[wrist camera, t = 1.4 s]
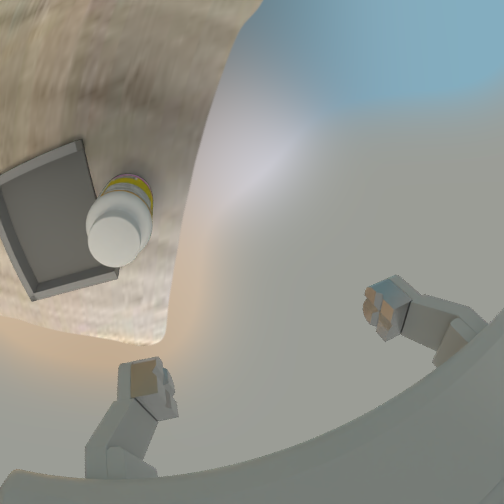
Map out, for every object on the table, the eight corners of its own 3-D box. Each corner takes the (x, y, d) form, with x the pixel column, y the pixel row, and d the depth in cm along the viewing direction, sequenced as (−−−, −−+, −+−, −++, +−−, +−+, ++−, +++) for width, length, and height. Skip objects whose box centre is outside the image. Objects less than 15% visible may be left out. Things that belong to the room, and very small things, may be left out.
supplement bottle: (128, 233, 33) (117, 291, 22) (92, 199, 29) (62, 244, 19) (164, 198, 33) (168, 243, 22) (129, 161, 29) (111, 187, 18)
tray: (37, 289, 31) (31, 301, 29) (-7, 178, 22) (-18, 184, 20) (119, 267, 35) (117, 279, 32) (82, 138, 26) (74, 141, 23)
